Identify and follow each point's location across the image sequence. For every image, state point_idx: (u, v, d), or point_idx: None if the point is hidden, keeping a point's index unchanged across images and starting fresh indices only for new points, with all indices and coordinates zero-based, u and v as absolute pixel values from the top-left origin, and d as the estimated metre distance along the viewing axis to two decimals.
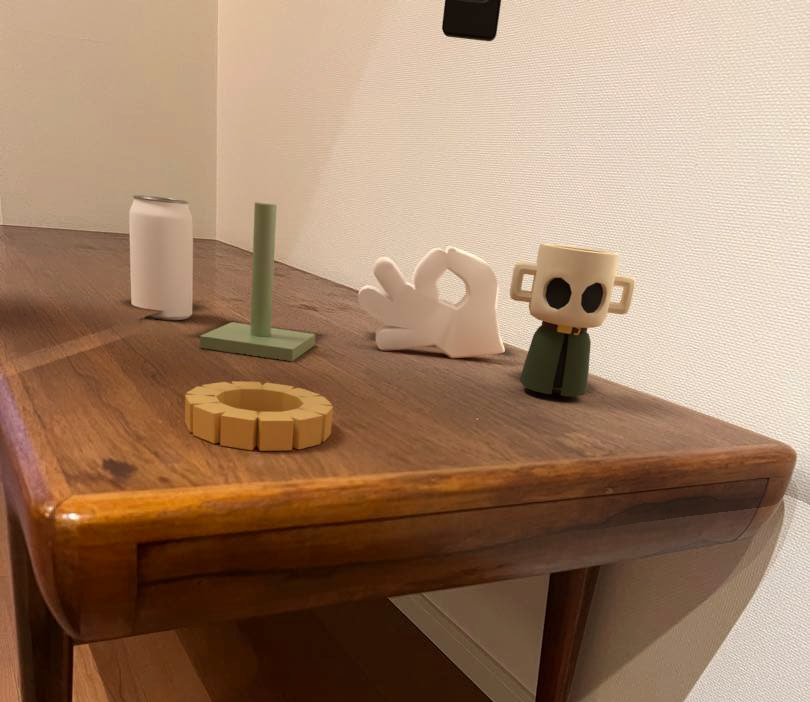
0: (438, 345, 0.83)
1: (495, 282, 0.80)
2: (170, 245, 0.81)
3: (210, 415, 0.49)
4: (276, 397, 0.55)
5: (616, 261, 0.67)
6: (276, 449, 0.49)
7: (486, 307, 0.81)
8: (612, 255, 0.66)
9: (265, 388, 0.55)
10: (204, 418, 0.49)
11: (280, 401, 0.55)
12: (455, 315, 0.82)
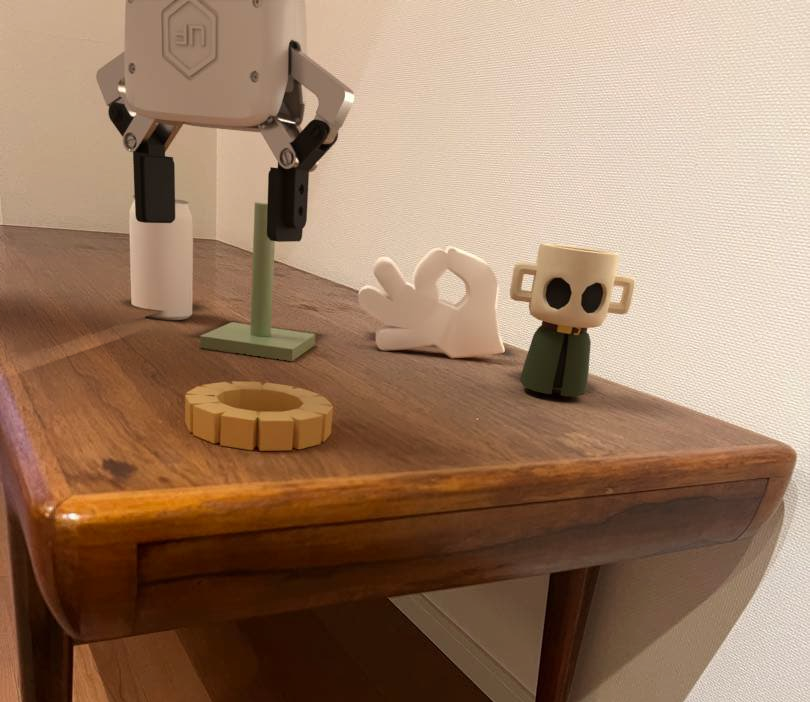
0: (438, 345, 0.83)
1: (495, 282, 0.80)
2: (170, 245, 0.81)
3: (210, 415, 0.49)
4: (276, 397, 0.55)
5: (616, 261, 0.67)
6: (276, 449, 0.49)
7: (486, 307, 0.81)
8: (612, 255, 0.66)
9: (265, 388, 0.55)
10: (204, 418, 0.49)
11: (280, 401, 0.55)
12: (455, 315, 0.82)
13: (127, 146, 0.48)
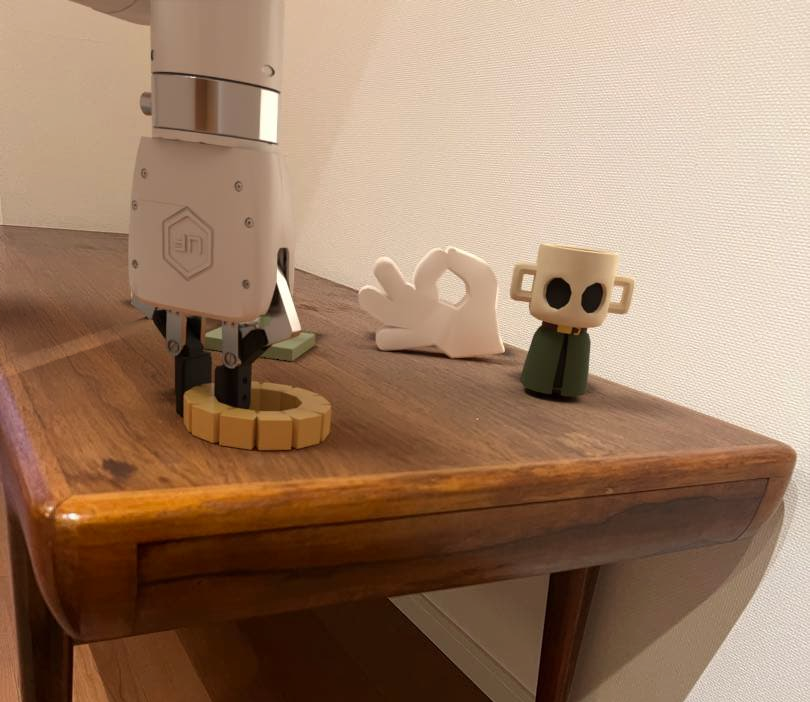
0: (438, 345, 0.83)
1: (495, 282, 0.80)
2: None
3: (209, 415, 0.49)
4: (274, 397, 0.55)
5: (616, 261, 0.67)
6: (275, 448, 0.49)
7: (486, 307, 0.81)
8: (612, 255, 0.66)
9: (263, 388, 0.55)
10: (203, 418, 0.49)
11: (278, 401, 0.55)
12: (455, 315, 0.82)
13: (173, 353, 0.52)
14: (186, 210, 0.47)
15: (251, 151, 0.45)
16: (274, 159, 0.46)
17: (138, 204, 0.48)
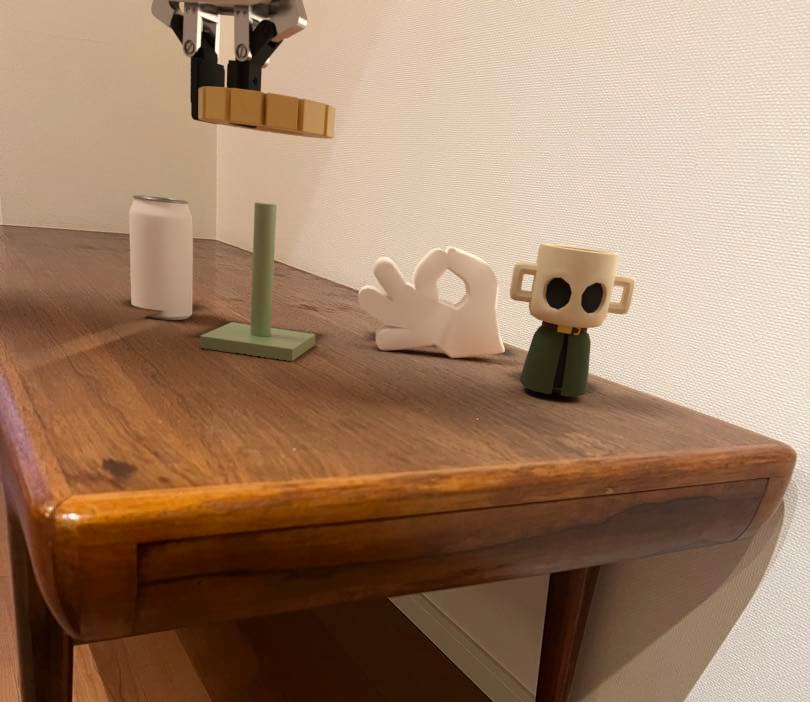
0: (438, 345, 0.83)
1: (495, 282, 0.80)
2: (170, 245, 0.81)
3: (221, 90, 0.53)
4: None
5: (616, 261, 0.67)
6: (282, 126, 0.53)
7: (486, 307, 0.81)
8: (612, 255, 0.66)
9: None
10: (216, 96, 0.53)
11: None
12: (455, 315, 0.82)
13: (189, 54, 0.57)
14: None
15: None
16: None
17: None
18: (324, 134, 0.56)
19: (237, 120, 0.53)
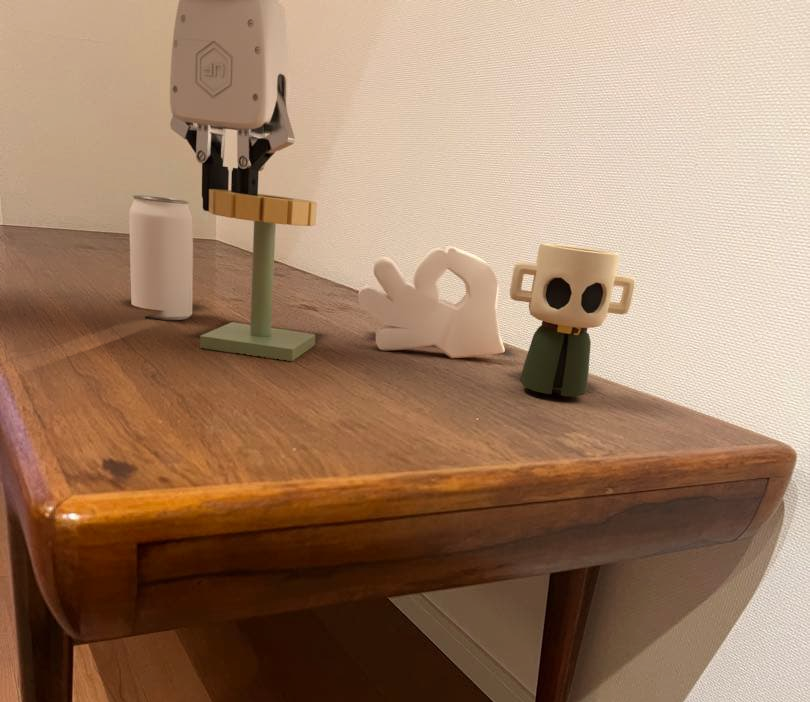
0: (438, 345, 0.83)
1: (495, 282, 0.80)
2: (170, 245, 0.81)
3: (228, 195, 0.68)
4: None
5: (616, 261, 0.67)
6: (275, 222, 0.69)
7: (486, 307, 0.81)
8: (612, 255, 0.66)
9: (267, 195, 0.75)
10: (223, 198, 0.68)
11: None
12: (455, 315, 0.82)
13: (201, 161, 0.72)
14: (213, 44, 0.66)
15: None
16: (275, 5, 0.65)
17: (178, 43, 0.67)
18: (308, 224, 0.71)
19: (240, 218, 0.68)
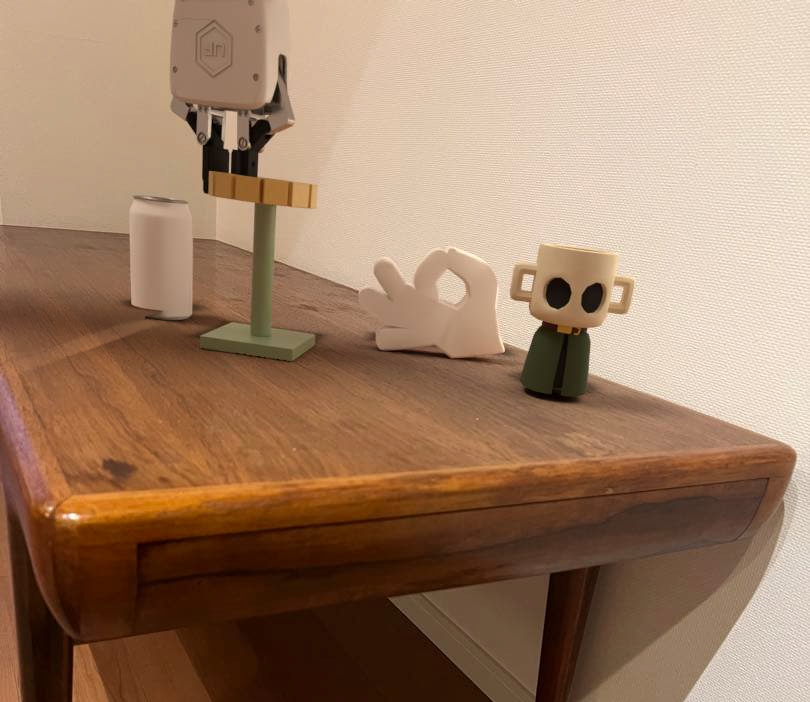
0: (438, 345, 0.83)
1: (495, 282, 0.80)
2: (170, 245, 0.81)
3: (228, 176, 0.67)
4: None
5: (616, 261, 0.67)
6: (275, 204, 0.68)
7: (486, 307, 0.81)
8: (612, 255, 0.66)
9: (267, 178, 0.74)
10: (223, 180, 0.68)
11: None
12: (455, 315, 0.82)
13: (201, 143, 0.71)
14: (213, 23, 0.65)
15: None
16: None
17: (178, 22, 0.67)
18: (308, 207, 0.71)
19: (240, 199, 0.68)
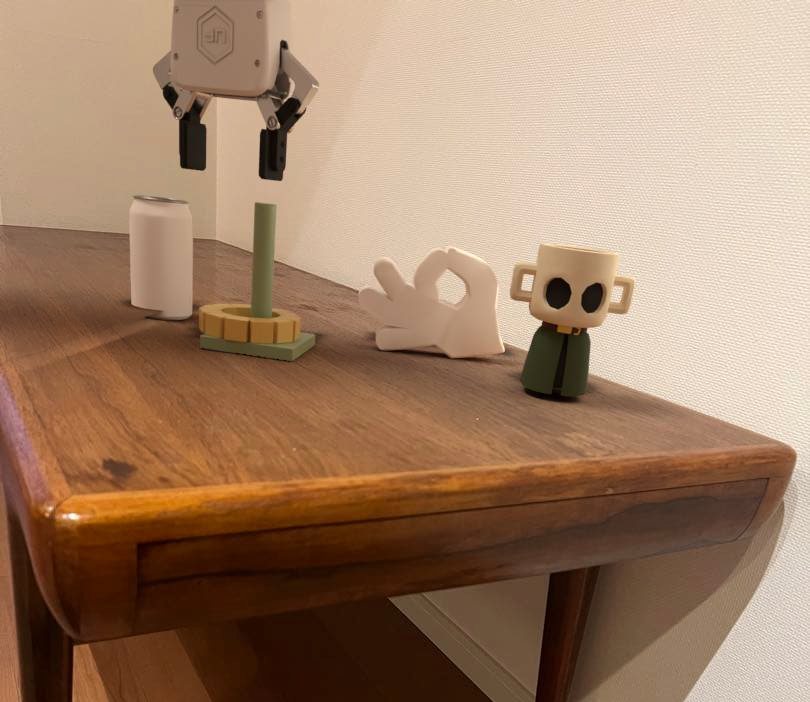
0: (438, 345, 0.83)
1: (495, 282, 0.80)
2: (170, 245, 0.81)
3: (217, 318, 0.72)
4: None
5: (616, 261, 0.67)
6: (262, 342, 0.73)
7: (486, 307, 0.81)
8: (612, 255, 0.66)
9: None
10: (213, 321, 0.73)
11: None
12: (455, 315, 0.82)
13: (176, 116, 0.71)
14: (214, 9, 0.65)
15: None
16: None
17: (179, 9, 0.66)
18: (293, 340, 0.76)
19: (229, 339, 0.73)
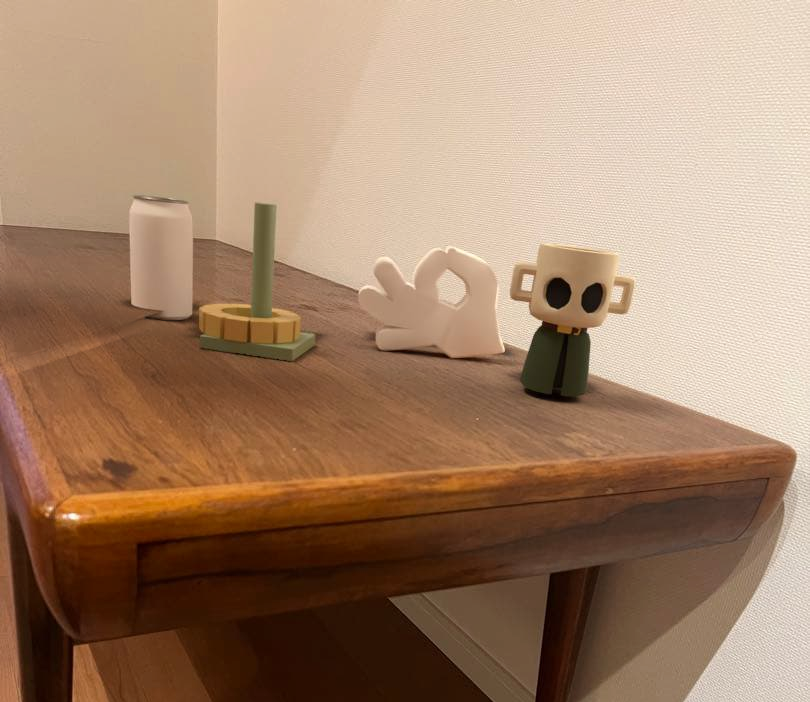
0: (438, 345, 0.83)
1: (495, 282, 0.80)
2: (170, 245, 0.81)
3: (217, 318, 0.72)
4: None
5: (616, 261, 0.67)
6: (262, 342, 0.73)
7: (486, 307, 0.81)
8: (612, 255, 0.66)
9: None
10: (213, 321, 0.73)
11: None
12: (455, 315, 0.82)
13: None
14: None
15: None
16: None
17: None
18: (293, 340, 0.76)
19: (229, 339, 0.73)
